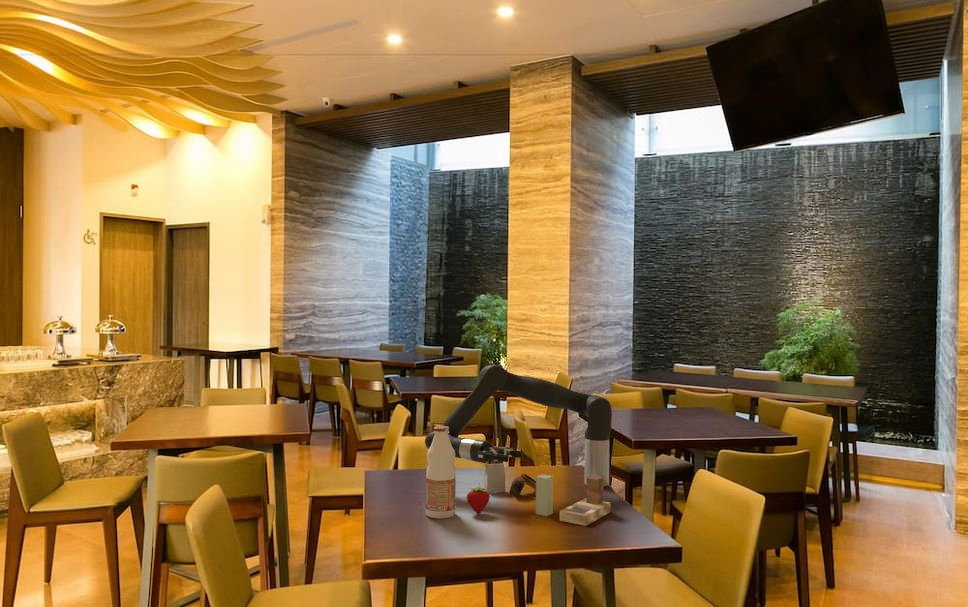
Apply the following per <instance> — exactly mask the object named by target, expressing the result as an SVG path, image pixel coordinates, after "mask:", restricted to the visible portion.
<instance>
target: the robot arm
mask: <svg viewBox="0 0 968 607" xmlns="http://www.w3.org/2000/svg"><path fill="white" fill-rule="evenodd" d="M478 379H479V380H478V381H479V382H478V384H476V386H475V388H473V390H472V391H471V392H470V393H469V395H468V396H466V398H464V400H462V401H461V402H460V403H459V404H458V405H457V406H456V407H455V408H454V409H453V410H452V412H451V413H450V414H449V415H448V416H447V418H446V419H445V421H443V426H447V427H449V433H448V436H449V439H450V442H451V445H452V447H453V449H454V450H455V459H456V458H457V459H462V460H466V461H470V462H475V463H481V464H486V463H489V462H490V463H493V462H502V463H508V462H509V460H510V457H511V458H518V459H521V458H523V451H522V450H516V448H515V447H509V446H502V445H499V446H493V445H492V444H491V442H490V441H488V440H483V439H476V438H464V437H459V436H460V433H462V432H463V430H464V429H465V428H466V427H467V425H468V424H469V423H470V422H471V420H472V419H473V418H474V416H475V415H476V414H477V412H478V411H479V410H480V409H481V408H482V406H484V405H485V404H486V403H487V401H489V399H490V398H491V397H492V396H494V395H495V394H496V393H497V392H503V393H508V394H511V395H515V396H517V397H519V398H522V399H523V400H524V399H525V400H526V401H529V402H532V403H535V404H539V405H541V406H545V407H547V408H548V407H549V408H554V409H561V410H569V411H571V412H575V413H577V414H579V415H582V416H585V417H586V418H587V429H586V430H585V431H584V471H583V473H584V474H583V475H584V479H583V480H584V485H586V483H587V478H588V477H590V476H597V477H603V488H604V487H607V486H610V435H611V431H612V420H613V419H612V415H613V412H612V410H613V409H612V405H611V403H610V402H609V400H608V399H606V398H604V397H602V396H599V395H595V394H588V393H584V392H583V393H582V392H579V391H578V392H577V391H574V390H572V389H569V388H567V387H565V386H563V385H561V384H558V383H556V382H552V381H550V380H546V379H543V378H537V377H532V376H524V375H518V374H515V373H513V372H509V371H508V370H507V371H506V369H505V368H504V367H503V366H502V365H498V364H489V365H485V366H484V367H483V368H482V369H481V370H480V371H479V374H478ZM434 435H435V433H434V431H432V432H430V433H428V434H427V435H426V436H425V439H424V445H425V447H426V448H427V449H429V448H430V446H431V444H432V441H433V438H434Z"/></svg>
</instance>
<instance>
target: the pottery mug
mask: <svg viewBox="0 0 968 607" xmlns="http://www.w3.org/2000/svg"><path fill="white" fill-rule="evenodd" d="M525 485H527V486H529V487H531V488H532V489H534V491H533V496H534V497H536V480H535V479H534V478H533V477H531V476H529V475H527V474H525V473H521V474H520V475H519V476H516V477H515V478H514V479H513V481H512V483H511V485H510V489H509V494H510V495H511V497H514V495H515V496H521V493H522V490H523V488H524V487H525Z"/></svg>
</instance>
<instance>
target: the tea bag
mask: <svg viewBox="0 0 968 607" xmlns="http://www.w3.org/2000/svg"><path fill="white" fill-rule="evenodd" d="M505 469H506V468H505V462H502V463H487V464H486V463H485V470H484V489H486V490H484V491H487V492H488V493H490V494H496V493H495V492H505V493H506V471H505Z"/></svg>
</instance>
